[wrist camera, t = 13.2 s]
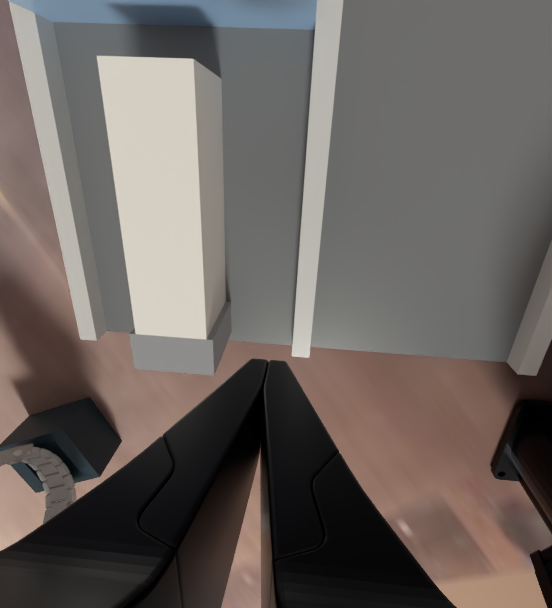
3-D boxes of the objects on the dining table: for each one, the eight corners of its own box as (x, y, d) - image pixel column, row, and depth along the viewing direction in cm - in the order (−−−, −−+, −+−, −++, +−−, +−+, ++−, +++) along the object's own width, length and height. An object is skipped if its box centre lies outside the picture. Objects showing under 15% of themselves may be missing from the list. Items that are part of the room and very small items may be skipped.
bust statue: (77, 474, 29) (-45, 651, 19) (13, 397, 26) (-171, 558, 16) (136, 459, 28) (38, 641, 18) (76, 377, 25) (-82, 537, 15)
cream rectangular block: (231, 331, 22) (214, 375, 18) (166, 327, 22) (134, 369, 18) (228, 79, 16) (201, 58, 12) (141, 76, 16) (88, 55, 12)
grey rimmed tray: (519, 358, 21) (563, 403, 18) (95, 325, 23) (55, 361, 19) (658, -3, 14) (778, -52, 11) (31, -18, 16) (-52, -66, 12)
